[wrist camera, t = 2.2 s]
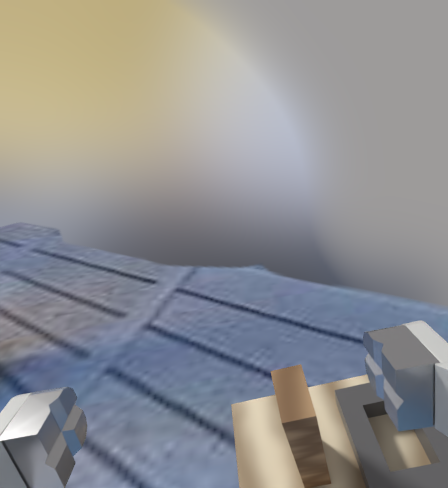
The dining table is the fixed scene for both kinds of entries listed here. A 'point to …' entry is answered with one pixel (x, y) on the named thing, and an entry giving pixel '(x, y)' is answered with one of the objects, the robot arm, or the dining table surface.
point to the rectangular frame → (369, 452)
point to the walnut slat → (301, 425)
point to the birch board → (332, 434)
